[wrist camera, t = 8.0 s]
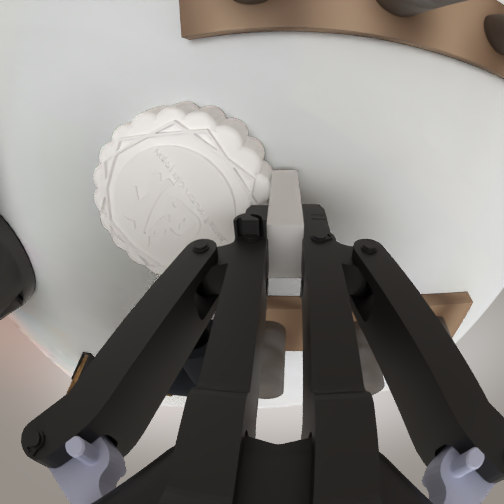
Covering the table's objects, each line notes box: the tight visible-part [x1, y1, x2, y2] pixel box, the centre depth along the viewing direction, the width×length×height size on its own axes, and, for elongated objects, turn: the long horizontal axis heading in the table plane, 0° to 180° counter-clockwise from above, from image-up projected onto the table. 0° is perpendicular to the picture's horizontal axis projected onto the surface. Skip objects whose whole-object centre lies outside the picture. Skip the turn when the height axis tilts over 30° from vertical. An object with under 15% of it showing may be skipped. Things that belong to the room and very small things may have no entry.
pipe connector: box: [166, 320, 213, 396], centre depth 30 cm, size 12×5×15 cm
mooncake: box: [93, 102, 273, 274], centre depth 17 cm, size 12×12×4 cm
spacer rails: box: [179, 0, 504, 399], centre depth 14 cm, size 24×32×8 cm
